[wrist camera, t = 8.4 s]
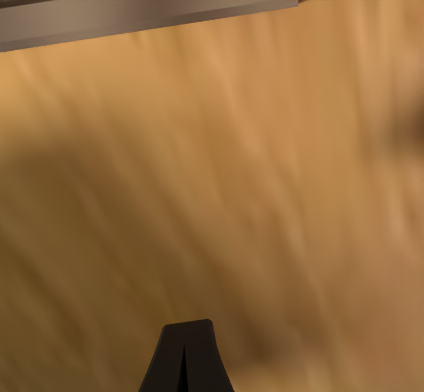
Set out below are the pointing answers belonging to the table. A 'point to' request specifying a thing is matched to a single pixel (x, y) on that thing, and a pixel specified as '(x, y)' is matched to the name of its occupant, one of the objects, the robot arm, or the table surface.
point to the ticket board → (110, 17)
